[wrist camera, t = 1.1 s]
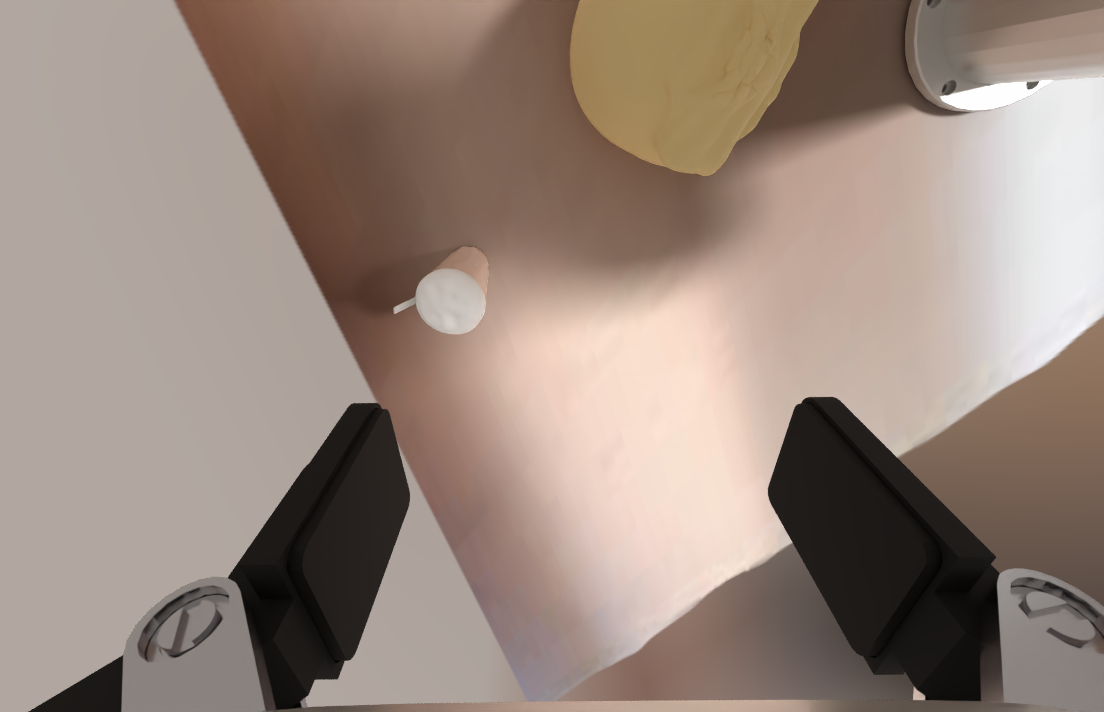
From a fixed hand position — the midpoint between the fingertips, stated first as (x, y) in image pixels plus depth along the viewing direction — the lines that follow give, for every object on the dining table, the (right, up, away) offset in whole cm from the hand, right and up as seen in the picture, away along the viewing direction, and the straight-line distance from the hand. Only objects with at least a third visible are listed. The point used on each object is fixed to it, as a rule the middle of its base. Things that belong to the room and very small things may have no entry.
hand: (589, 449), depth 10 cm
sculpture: (+6, +22, +18) cm, 29 cm away
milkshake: (-8, +10, +25) cm, 28 cm away
